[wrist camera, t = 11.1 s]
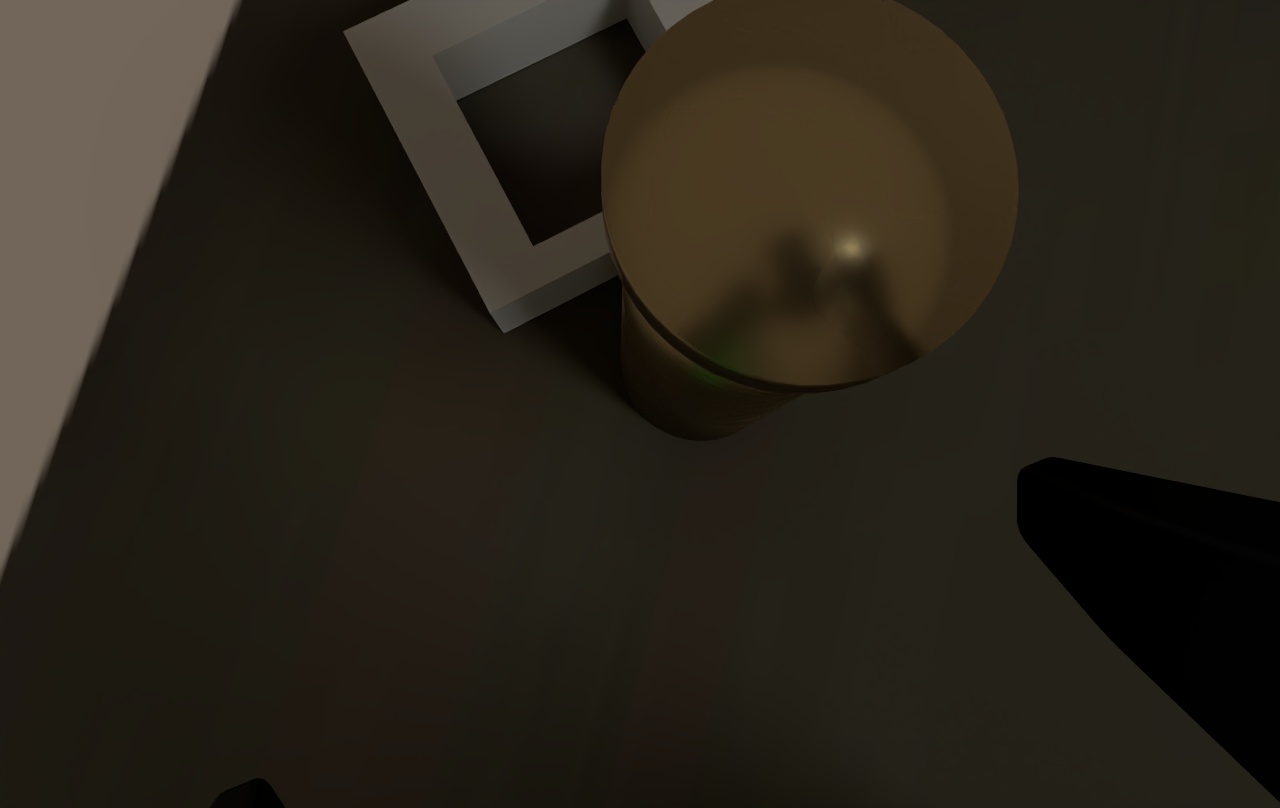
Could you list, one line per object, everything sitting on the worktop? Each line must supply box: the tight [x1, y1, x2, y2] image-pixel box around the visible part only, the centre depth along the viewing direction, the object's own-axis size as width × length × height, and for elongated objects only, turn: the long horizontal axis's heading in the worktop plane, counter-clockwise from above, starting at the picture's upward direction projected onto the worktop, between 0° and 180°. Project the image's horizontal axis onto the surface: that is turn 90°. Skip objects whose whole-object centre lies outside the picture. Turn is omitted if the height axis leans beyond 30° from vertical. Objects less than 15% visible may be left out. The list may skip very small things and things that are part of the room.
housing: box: [343, 0, 713, 333], centre depth 22 cm, size 8×9×2 cm
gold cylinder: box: [601, 0, 1019, 441], centre depth 16 cm, size 5×5×13 cm
